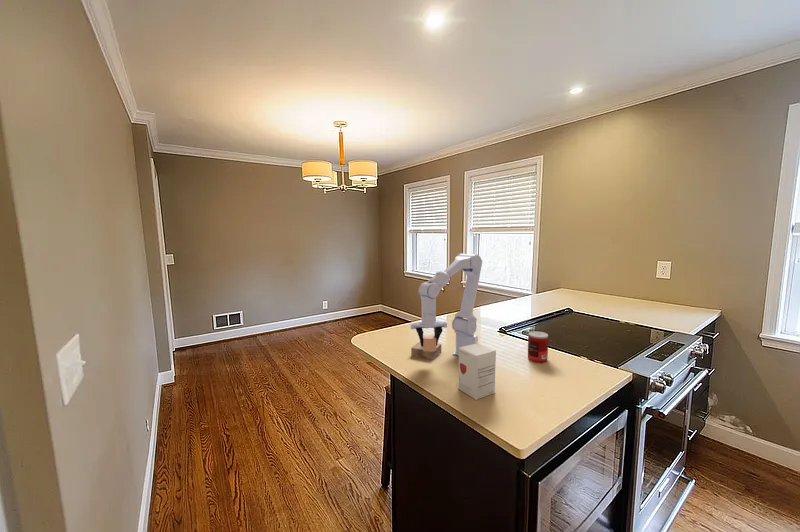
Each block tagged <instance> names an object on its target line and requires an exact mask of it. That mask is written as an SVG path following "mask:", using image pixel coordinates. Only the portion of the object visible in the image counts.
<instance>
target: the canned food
mask: <svg viewBox="0 0 800 532" xmlns="http://www.w3.org/2000/svg"><path fill="white" fill-rule="evenodd" d="M527 336H528V337H527V340H528V341H527V359H528V360H529V361H530V362H533V363H537V364H542V363H546V362H547V361H548V358H549V357H548V354H549V353H548V352H549V334H548V333H546V332H544V331H539V330H538V331H537V330H536V331H535V330H534V331H530V332H528V335H527Z"/></svg>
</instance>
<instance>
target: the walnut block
mask: <svg viewBox="0 0 800 532" xmlns="http://www.w3.org/2000/svg"><path fill="white" fill-rule="evenodd" d="M410 349H411V352H410V353H411V356H412V357H415V356H416V357H417V358H420V357H421V359H425V358H426V360H431V359H432V360H431V361H433V360H434V359H435V358H436V357H438V354H439V353H440V354H441V353H442V344H441V343H437V346H436V351H423V349H422V347H421V343H420V341H419V342H417V343H416V344H415V345H413V346H412V347H411V348H410ZM440 354H439V355H440Z"/></svg>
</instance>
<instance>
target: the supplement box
mask: <svg viewBox="0 0 800 532" xmlns="http://www.w3.org/2000/svg"><path fill="white" fill-rule="evenodd" d="M496 355H497V350H495V349H492V348H490V347H488V346H487V345H486V346H485V345H483V344H481V343H479V342H478V343H475V344H471V345H467V346H463V347H460V348H459V355H458V383H457V384H458V390H460V391H461V392H463V393H465V394H466V395H468V396H469V397H471V398H472V399H473V400H475V401H477V400H480V399H483V398H484V397H487V396H490V395H492V394H494V393H496V360H497V356H496Z"/></svg>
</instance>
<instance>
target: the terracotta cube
mask: <svg viewBox="0 0 800 532" xmlns="http://www.w3.org/2000/svg"><path fill="white" fill-rule="evenodd" d="M422 349H423V351H436V337H435V334H423V347H422Z"/></svg>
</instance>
